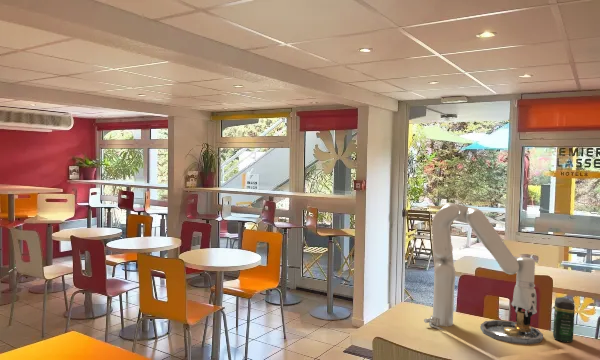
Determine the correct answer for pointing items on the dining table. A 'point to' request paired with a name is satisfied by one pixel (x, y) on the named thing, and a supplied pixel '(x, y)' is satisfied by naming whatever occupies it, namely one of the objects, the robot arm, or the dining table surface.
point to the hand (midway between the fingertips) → (523, 322)
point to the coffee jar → (564, 320)
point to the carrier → (510, 332)
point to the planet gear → (522, 322)
